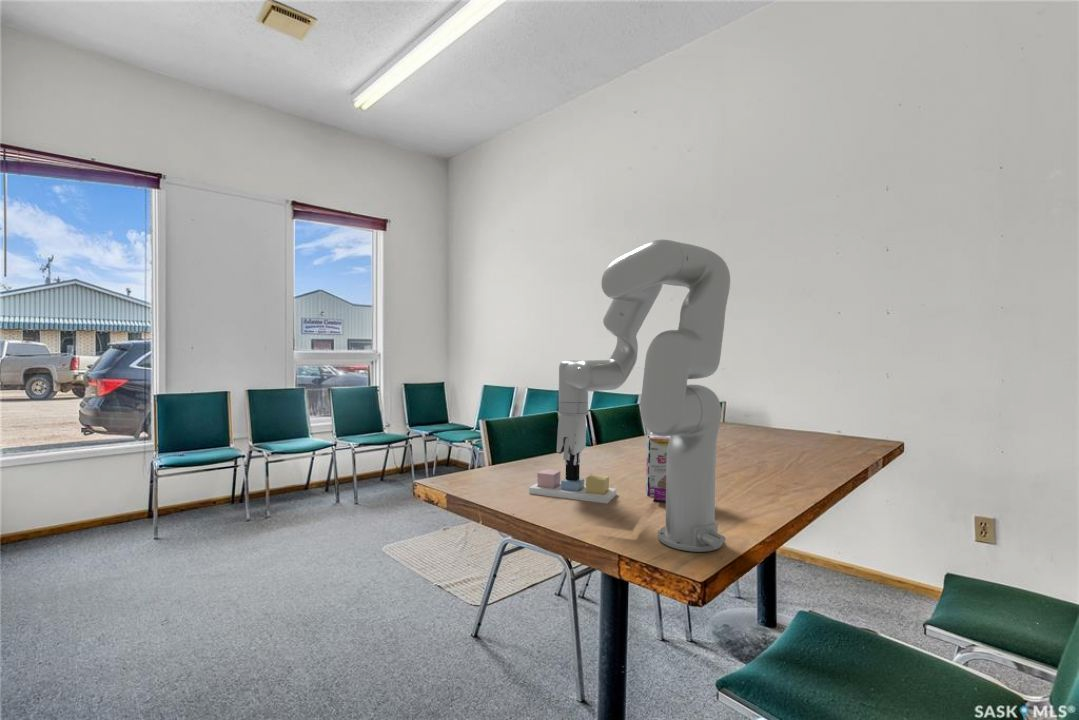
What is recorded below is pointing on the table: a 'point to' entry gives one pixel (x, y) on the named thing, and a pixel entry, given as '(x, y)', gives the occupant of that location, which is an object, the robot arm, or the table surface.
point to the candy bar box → (656, 467)
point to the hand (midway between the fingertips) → (572, 479)
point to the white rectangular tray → (573, 494)
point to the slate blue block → (572, 485)
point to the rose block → (548, 479)
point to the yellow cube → (597, 484)
